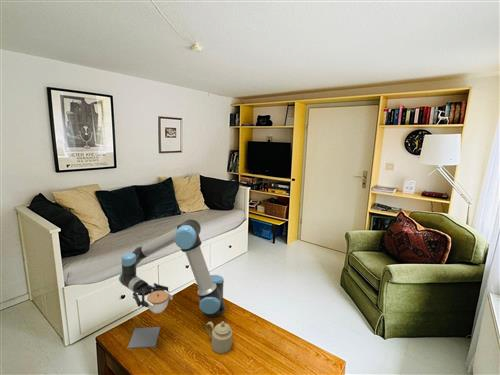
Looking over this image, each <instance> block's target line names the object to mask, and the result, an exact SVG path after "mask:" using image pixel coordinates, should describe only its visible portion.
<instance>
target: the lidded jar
mask: <svg viewBox="0 0 500 375" xmlns="http://www.w3.org/2000/svg"><path fill="white" fill-rule="evenodd" d="M146 300H147V301H149V302H150V303H152V304H153V305H154V310H153V311H152V310H151V309H150V308H148V309H149V311H151V312H152V313H153V314H161V313H162V312H164V310H166V308H168V304H169V300H170V299H169V294H168V293H167V292H166V291H155V292H152V293H150V294H148V295H147V298H146Z"/></svg>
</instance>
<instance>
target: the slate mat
mask: <svg viewBox="0 0 500 375" xmlns="http://www.w3.org/2000/svg"><path fill="white" fill-rule="evenodd" d="M160 330H161V326H154V327H153V326H152V327H151V326H150V327H137V328H136V327H135V328H134V330H133V332H132V334H131V337H130V340H129V342H128V345H127V349H129V350H130V349H140V348H141V349H142V348H154V347H155V348H156V347H157V344H158V342H157V341H158V339H159V335H160Z"/></svg>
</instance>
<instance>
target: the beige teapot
mask: <svg viewBox="0 0 500 375" xmlns="http://www.w3.org/2000/svg"><path fill="white" fill-rule="evenodd" d="M205 327H206V328H205V329H206V332H207V334H208V336H210V339H211V349H212V351H213V352H214V353H217V354H225V353H228V352H230V350H231V349H232V345H233V330H232V328H231V326H230V324H228V323H226V322H225V320H224V321H223V320H222V321H221V322H220V323H217V324H216V325H215V324H214V323H213V322H212V321H208V322H207V323H206V325H205ZM210 327H211V329H210Z"/></svg>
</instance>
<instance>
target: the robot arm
mask: <svg viewBox="0 0 500 375" xmlns="http://www.w3.org/2000/svg"><path fill="white" fill-rule="evenodd" d="M201 230H202V229H201V225H200V223H199V222H198V221H197V220H195V219H192V218H191V219H186V220H185V221H183V222H181V223H180V224H178V225H177V226H176V227H175V228H174V229H172V230H170V231H168V232H167V233H164V234H163V235H160V236H158V237H157V238H154V239H153V240H150V241H149V242H146V243H145V244H143V245H140V246H137V247H136V248H135V249H134V250H133V251H132V252H127V253H125V254H123V255H122V256H121V273H120V275H119V277H118V281H119V283H121V285H123V286H124V287H125V288H126V289H128V290H130V291H132V292H133V293H132V298H133V300H135V303H136V304H137V307H142V308H144V307H145V308H147V309H149V308H150V309H151V310H152V311H153V310H154V305H153V304H152V303H150V302H149V301H147V299H145V297H146V296H148V295H149V294H150V293H152V292H155V291H166V292H167V293H168V294H169V300H170V301H171V300H173V299H174V297H173V296H174V295H173V294H172V293H171V292H170V291H169V287H168V286H165V285H162V284H158V283H156V282H155V283H153V284H152V285H150V284H149V283H148V282H147V281H146V280H144V279H142V278H140V277H139V276H137V266H138V265H139V264H140V263H141V262H142V261H143V260H145V259H146V258H147V257H150V256H151V255H154V254H155V253H158V252H159V251H161V250H163V249H166V248H167V247H169V246H171V245H173V244H175V245H176V246H177V248H180V250H181V252H182V253H185V256H186V258H187V260H188V263H189V266H190V269H191V271H192V272H191V273H192V275H193V276H194V280H195V283H196V285H197V288H198V290H197V291H196V292H197V296H198V298H199V310H200V311H201V313H202V315H204V316H206V317H208V318H217V317H220V316H222V315H224V313H225V311H226V303H225V301H224V283H225V281H224V277H223V276H221V275H219V274H210V270H209V268H208V266H207V263H206V259H205V258H204V253H203V252H202V249H201V246H202V244H203V243H202V241H201V237H200V233H201V232H202V231H201ZM139 296H141V300H140V298H139ZM150 309H149V310H150ZM151 310H150V311H151ZM152 311H151V312H152Z"/></svg>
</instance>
